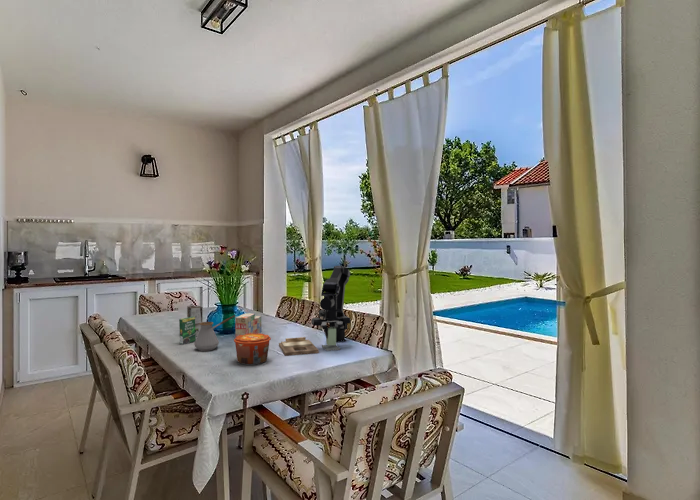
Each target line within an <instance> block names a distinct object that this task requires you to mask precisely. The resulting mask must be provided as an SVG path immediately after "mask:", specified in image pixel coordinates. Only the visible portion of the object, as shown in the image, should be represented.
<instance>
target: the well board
mask: <svg viewBox="0 0 700 500" xmlns="http://www.w3.org/2000/svg"><path fill="white" fill-rule="evenodd" d="M309 341H310V342H311V343H312V346H299V347H286V348H284V347H283V345H282V344H281V342H278V347H279V348H280V350H281V352H282V353H283V355H284V357H289V356H299V355H301V356H302V355H313V354H314V355H315V354H320V352H319V351H320V350H319V348H318V347H317V346H316V345H314V343H313V342H312V341H311V340H309Z"/></svg>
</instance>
